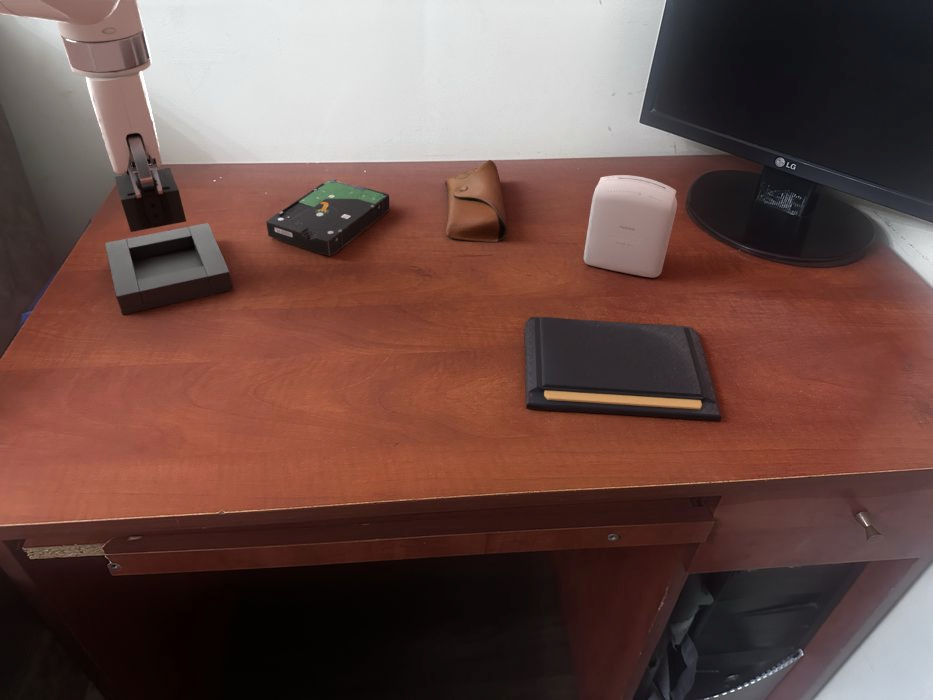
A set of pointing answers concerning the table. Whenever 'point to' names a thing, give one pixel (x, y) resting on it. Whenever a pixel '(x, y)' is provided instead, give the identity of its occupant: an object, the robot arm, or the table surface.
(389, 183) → the table surface
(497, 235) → the sunglasses case
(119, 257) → the docking pad
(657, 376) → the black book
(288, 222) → the disk drive
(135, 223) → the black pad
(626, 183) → the photo printer
